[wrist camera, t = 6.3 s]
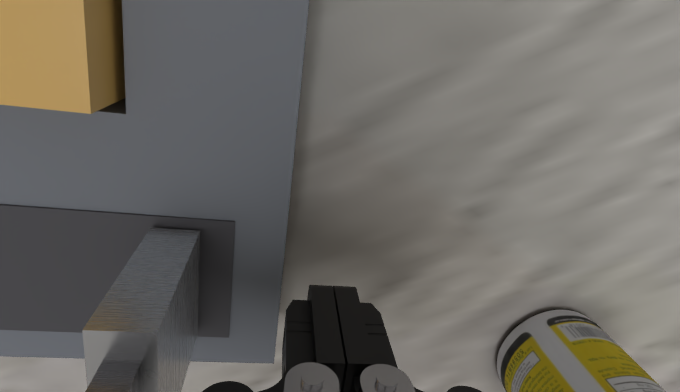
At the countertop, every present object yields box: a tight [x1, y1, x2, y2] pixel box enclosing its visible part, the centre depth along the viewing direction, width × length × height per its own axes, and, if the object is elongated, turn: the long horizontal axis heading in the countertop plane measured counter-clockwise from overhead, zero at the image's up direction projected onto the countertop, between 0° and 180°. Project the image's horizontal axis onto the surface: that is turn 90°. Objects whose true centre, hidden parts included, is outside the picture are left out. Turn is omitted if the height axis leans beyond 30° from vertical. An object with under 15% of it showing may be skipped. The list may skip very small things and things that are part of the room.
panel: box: [0, 0, 309, 363], centre depth 13 cm, size 21×15×3 cm
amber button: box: [0, 0, 126, 114], centre depth 12 cm, size 4×4×4 cm
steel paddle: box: [82, 228, 200, 392], centre depth 12 cm, size 4×2×6 cm, turn 173°
